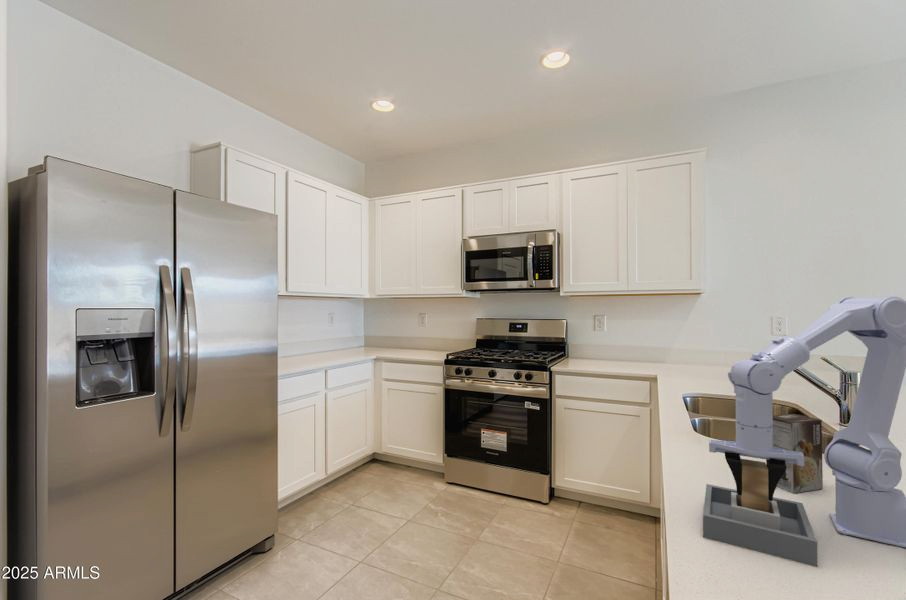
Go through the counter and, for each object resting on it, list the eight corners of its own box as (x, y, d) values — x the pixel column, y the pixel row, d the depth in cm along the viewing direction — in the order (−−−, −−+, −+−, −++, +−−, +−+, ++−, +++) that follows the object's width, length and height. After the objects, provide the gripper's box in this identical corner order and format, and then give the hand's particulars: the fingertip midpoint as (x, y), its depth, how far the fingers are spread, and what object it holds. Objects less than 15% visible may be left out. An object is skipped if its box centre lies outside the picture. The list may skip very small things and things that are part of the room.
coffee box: (794, 478, 104) (794, 412, 104) (823, 489, 97) (823, 419, 98) (766, 482, 101) (765, 415, 101) (793, 494, 95) (793, 422, 95)
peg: (765, 509, 81) (765, 462, 81) (768, 518, 77) (768, 469, 78) (740, 504, 83) (740, 458, 83) (742, 513, 79) (742, 465, 80)
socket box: (802, 523, 82) (802, 497, 82) (817, 566, 69) (817, 535, 69) (706, 502, 91) (706, 479, 91) (703, 537, 78) (703, 509, 78)
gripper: (798, 424, 80) (798, 496, 80) (708, 413, 87) (708, 480, 87) (806, 434, 74) (807, 512, 74) (709, 422, 81) (709, 493, 81)
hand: (754, 495), depth 80 cm, fingers closed on peg, 4 cm apart
